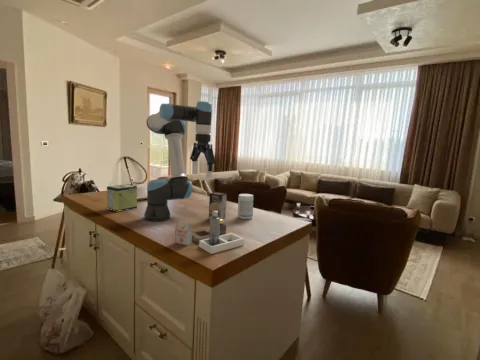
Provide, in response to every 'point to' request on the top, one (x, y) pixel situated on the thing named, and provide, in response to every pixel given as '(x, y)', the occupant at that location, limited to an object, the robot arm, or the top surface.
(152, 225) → the top surface
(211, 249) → the tray
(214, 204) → the coffee box
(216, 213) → the grey bottle
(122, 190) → the protein box
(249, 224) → the top surface
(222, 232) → the socket
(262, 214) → the top surface
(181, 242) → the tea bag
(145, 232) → the top surface
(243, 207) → the supplement tub
